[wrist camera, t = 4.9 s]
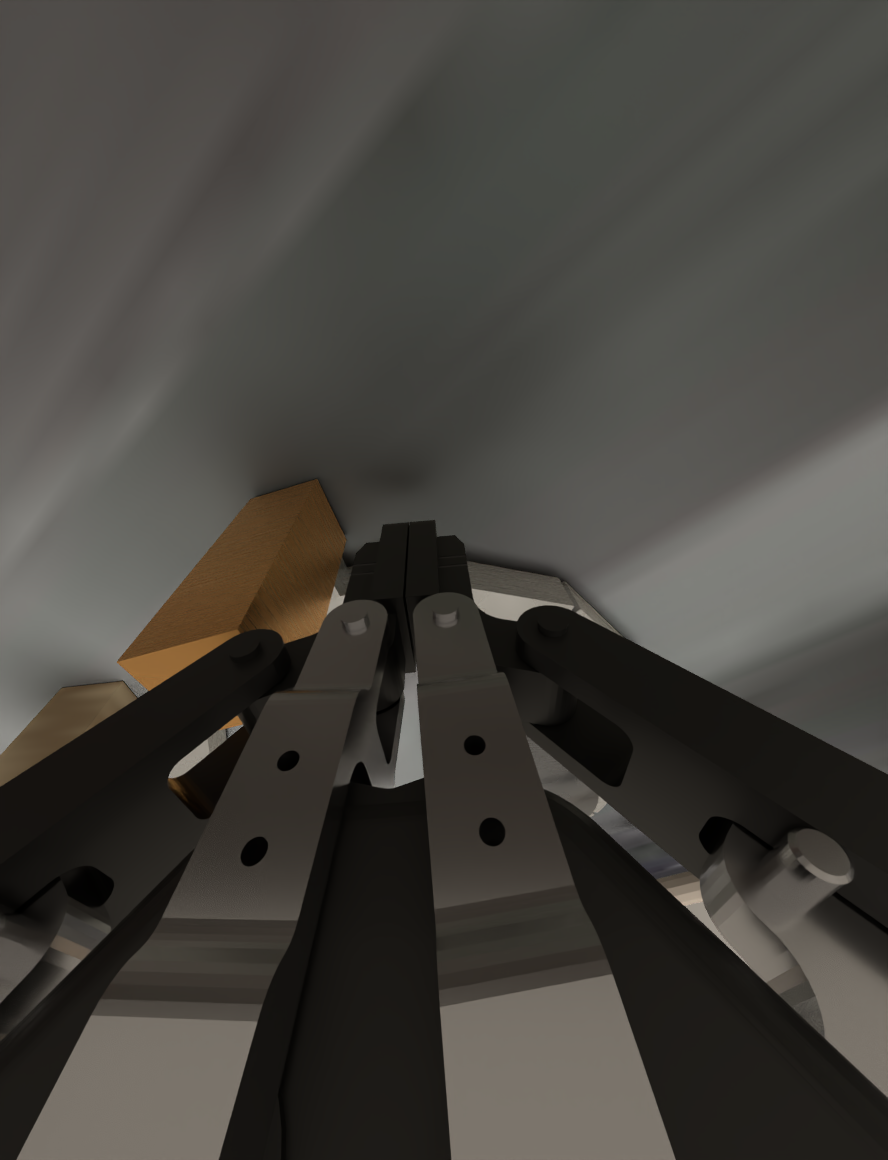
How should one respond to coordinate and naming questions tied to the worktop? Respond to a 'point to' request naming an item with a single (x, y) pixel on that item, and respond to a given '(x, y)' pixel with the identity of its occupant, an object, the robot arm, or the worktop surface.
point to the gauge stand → (62, 724)
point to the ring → (293, 591)
